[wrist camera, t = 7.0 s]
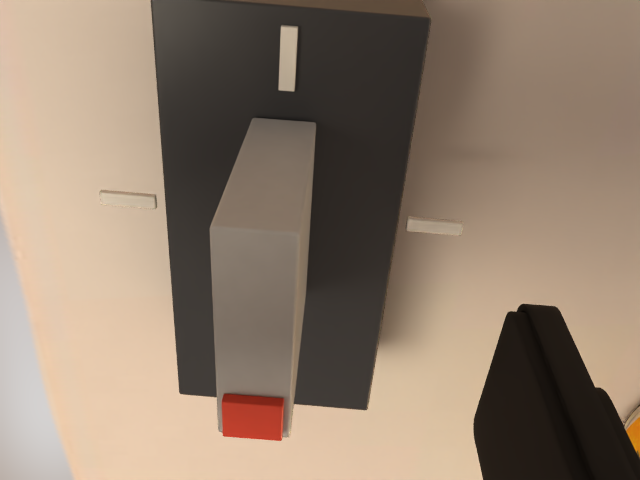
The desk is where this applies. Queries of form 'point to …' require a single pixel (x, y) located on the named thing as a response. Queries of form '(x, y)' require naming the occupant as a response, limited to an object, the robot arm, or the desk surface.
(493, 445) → the robot arm
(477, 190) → the desk surface
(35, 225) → the desk surface
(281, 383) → the timer knob
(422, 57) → the panel
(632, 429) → the beer can
